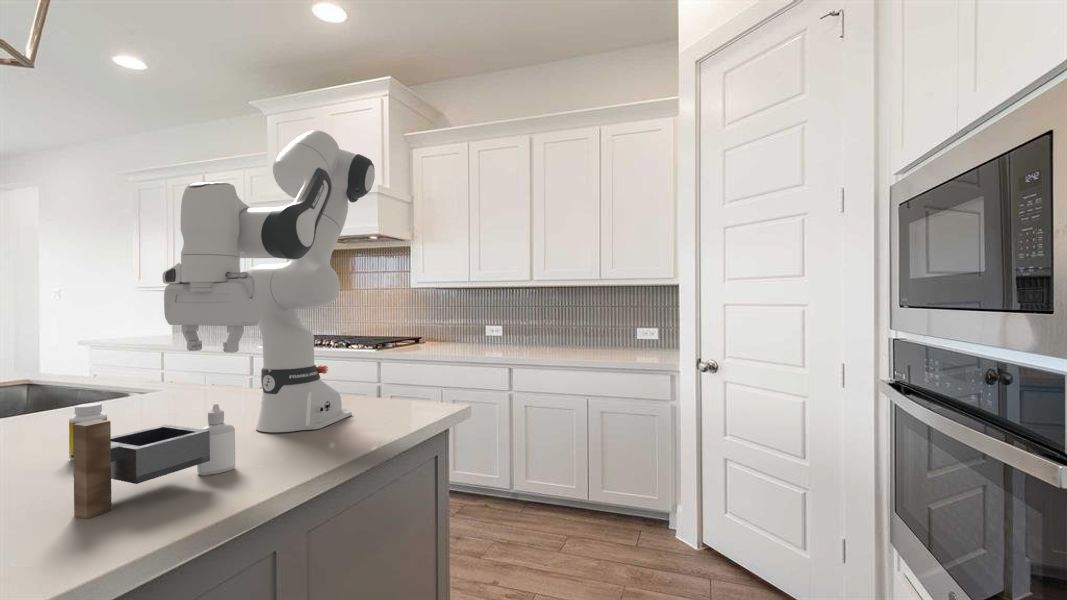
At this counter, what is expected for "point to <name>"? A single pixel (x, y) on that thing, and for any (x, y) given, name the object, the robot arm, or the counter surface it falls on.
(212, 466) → the eye dropper bottle
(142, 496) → the counter surface
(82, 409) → the supplement bottle
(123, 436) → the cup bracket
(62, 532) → the counter surface
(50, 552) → the counter surface
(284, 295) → the robot arm
